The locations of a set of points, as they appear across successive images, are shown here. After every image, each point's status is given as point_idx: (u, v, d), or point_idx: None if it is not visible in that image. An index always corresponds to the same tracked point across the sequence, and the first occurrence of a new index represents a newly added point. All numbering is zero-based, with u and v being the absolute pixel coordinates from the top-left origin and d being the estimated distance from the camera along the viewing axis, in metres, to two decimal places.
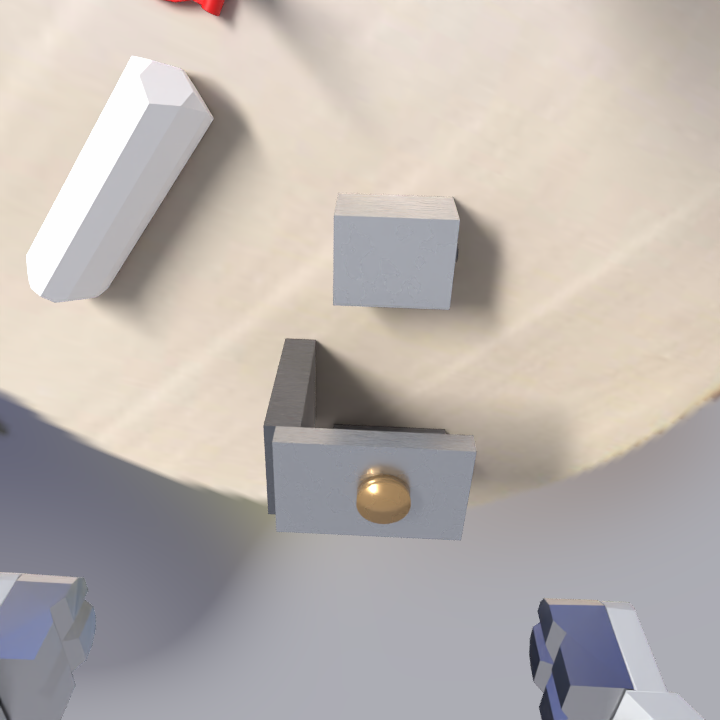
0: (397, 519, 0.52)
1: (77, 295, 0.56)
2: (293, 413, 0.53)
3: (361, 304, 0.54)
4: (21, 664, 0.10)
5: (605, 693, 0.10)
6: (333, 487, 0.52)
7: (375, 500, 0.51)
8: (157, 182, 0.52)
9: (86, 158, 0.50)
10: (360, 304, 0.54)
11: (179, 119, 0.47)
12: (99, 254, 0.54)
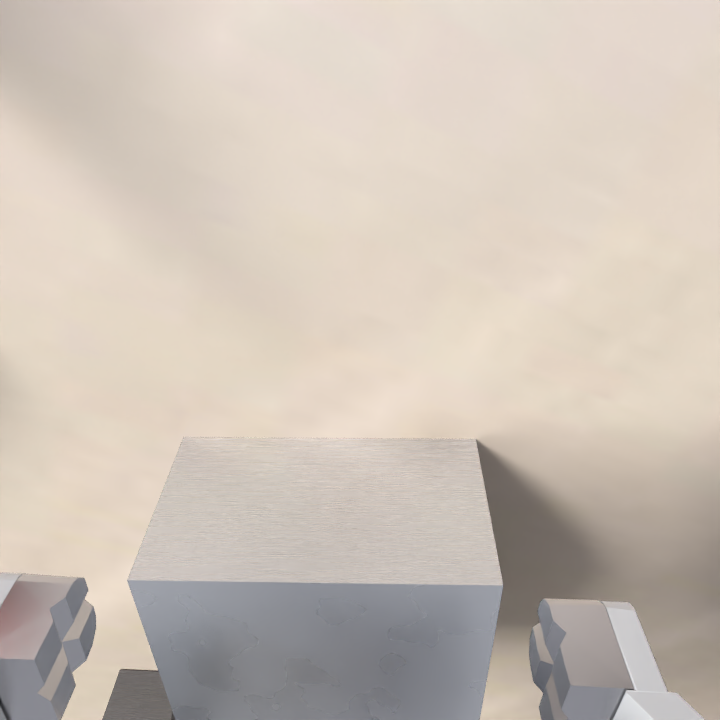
0: None
1: None
2: None
3: None
4: (21, 664, 0.10)
5: (605, 693, 0.10)
6: None
7: None
8: None
9: None
10: None
11: None
12: None
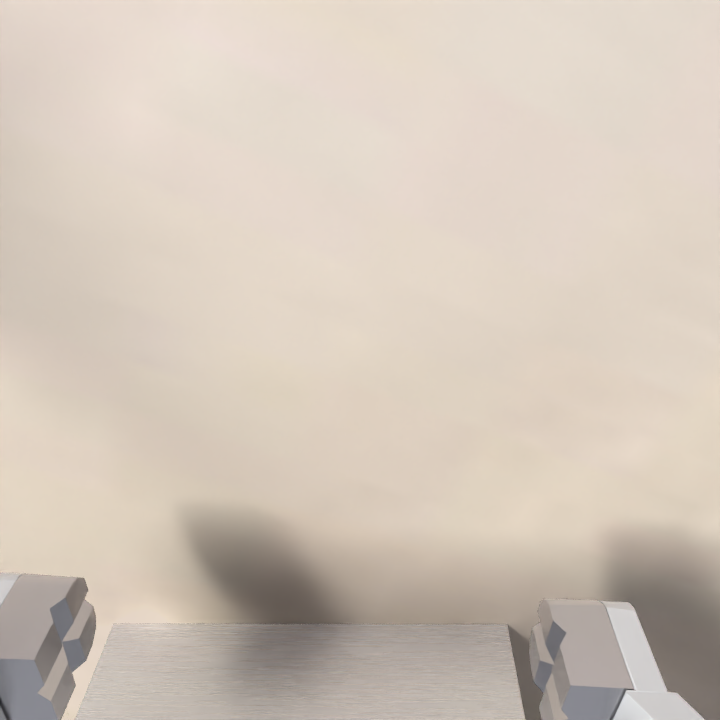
0: None
1: None
2: None
3: None
4: (21, 664, 0.10)
5: (605, 693, 0.10)
6: None
7: None
8: None
9: None
10: None
11: None
12: None
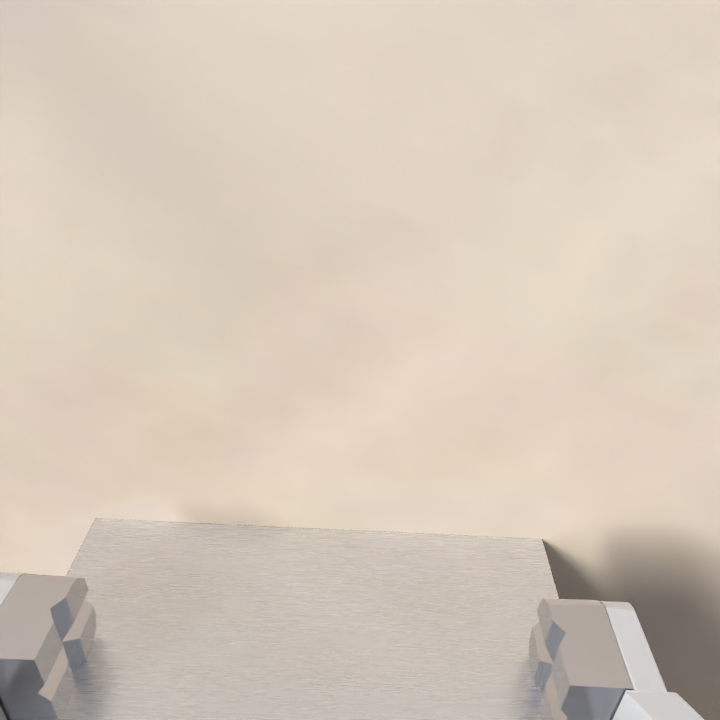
0: None
1: None
2: None
3: None
4: (21, 664, 0.10)
5: (604, 693, 0.10)
6: None
7: None
8: None
9: None
10: None
11: None
12: None
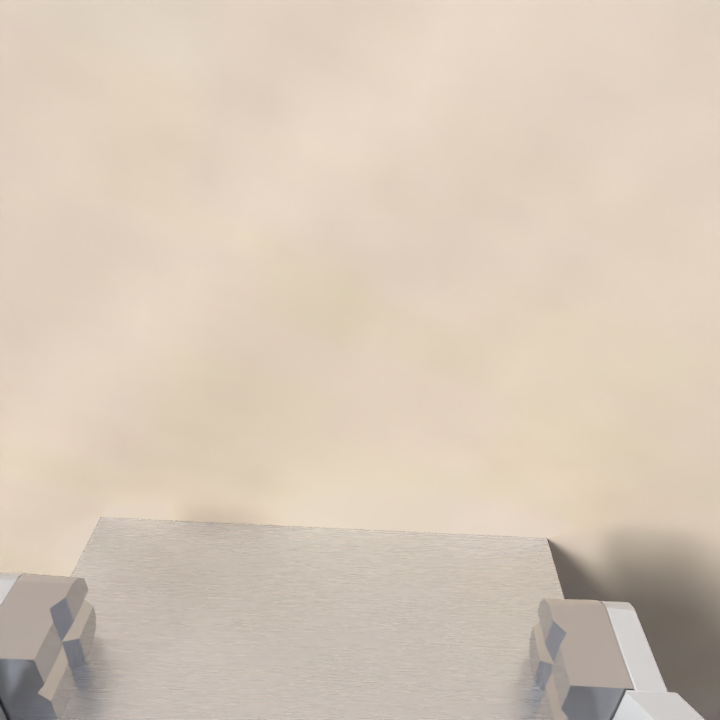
0: None
1: None
2: None
3: None
4: (21, 664, 0.10)
5: (605, 693, 0.10)
6: None
7: None
8: None
9: None
10: None
11: None
12: None
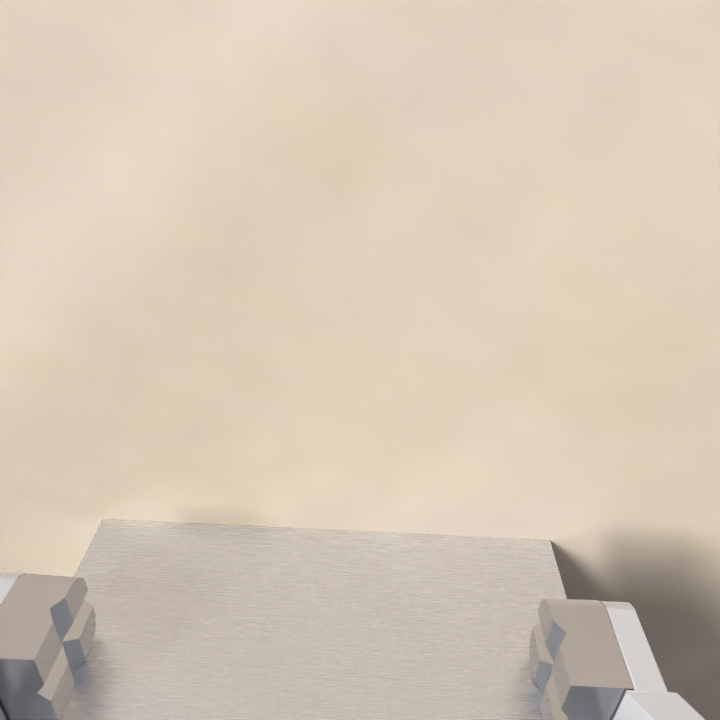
0: None
1: None
2: None
3: None
4: (21, 664, 0.10)
5: (605, 693, 0.10)
6: None
7: None
8: None
9: None
10: None
11: None
12: None
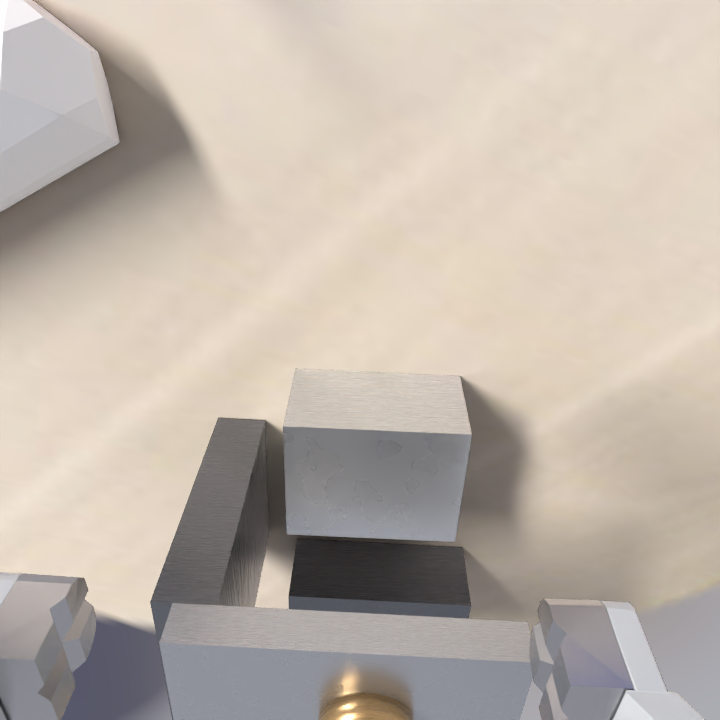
0: None
1: None
2: (208, 572, 0.30)
3: (327, 534, 0.37)
4: (21, 664, 0.10)
5: (605, 693, 0.10)
6: (276, 710, 0.29)
7: None
8: None
9: None
10: (325, 534, 0.37)
11: (52, 131, 0.27)
12: None
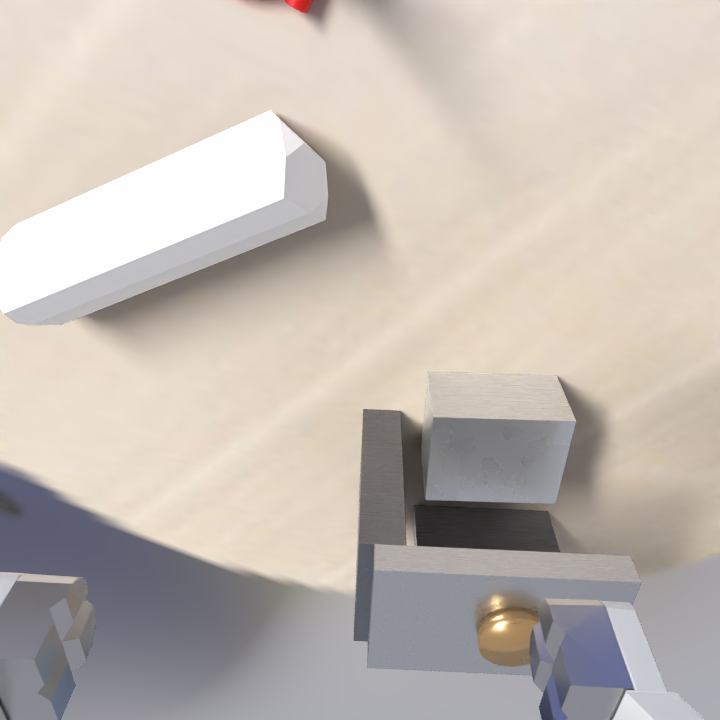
0: (529, 661, 0.40)
1: (47, 322, 0.43)
2: (393, 523, 0.41)
3: (456, 499, 0.49)
4: (21, 664, 0.10)
5: (605, 693, 0.10)
6: (446, 621, 0.40)
7: (504, 641, 0.39)
8: (223, 257, 0.41)
9: (156, 195, 0.38)
10: (455, 499, 0.49)
11: (298, 220, 0.38)
12: (105, 297, 0.41)
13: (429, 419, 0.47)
